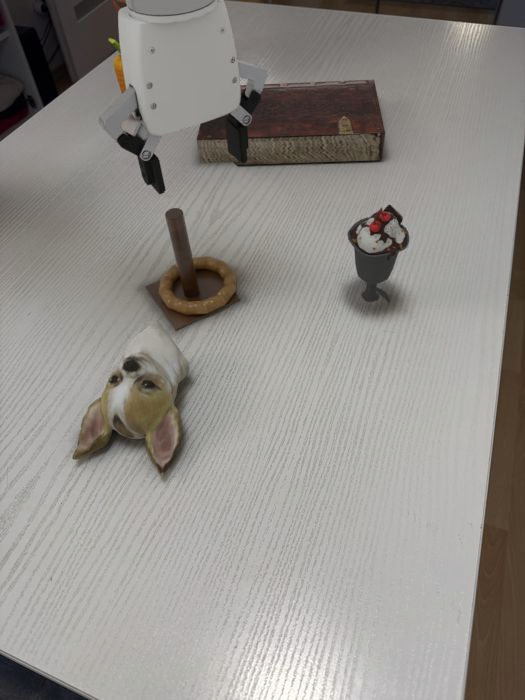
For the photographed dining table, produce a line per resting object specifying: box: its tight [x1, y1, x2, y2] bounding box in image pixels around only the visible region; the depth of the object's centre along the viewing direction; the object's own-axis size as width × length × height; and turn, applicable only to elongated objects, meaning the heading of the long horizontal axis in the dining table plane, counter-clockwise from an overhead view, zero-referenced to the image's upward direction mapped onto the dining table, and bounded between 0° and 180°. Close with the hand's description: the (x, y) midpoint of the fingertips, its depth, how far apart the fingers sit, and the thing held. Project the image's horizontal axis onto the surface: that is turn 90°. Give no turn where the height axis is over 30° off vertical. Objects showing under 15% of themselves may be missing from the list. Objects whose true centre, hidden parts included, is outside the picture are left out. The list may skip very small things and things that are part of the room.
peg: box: [145, 207, 241, 332], centre depth 64 cm, size 9×9×13 cm
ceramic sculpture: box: [71, 320, 190, 476], centre depth 55 cm, size 11×9×15 cm
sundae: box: [347, 204, 410, 304], centre depth 61 cm, size 7×7×15 cm
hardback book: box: [196, 79, 386, 166], centre depth 91 cm, size 29×19×5 cm, turn 88°
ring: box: [159, 256, 237, 315], centre depth 68 cm, size 10×10×2 cm
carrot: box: [108, 37, 126, 95], centre depth 94 cm, size 5×5×15 cm
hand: (198, 171), depth 58 cm, fingers open, 9 cm apart
